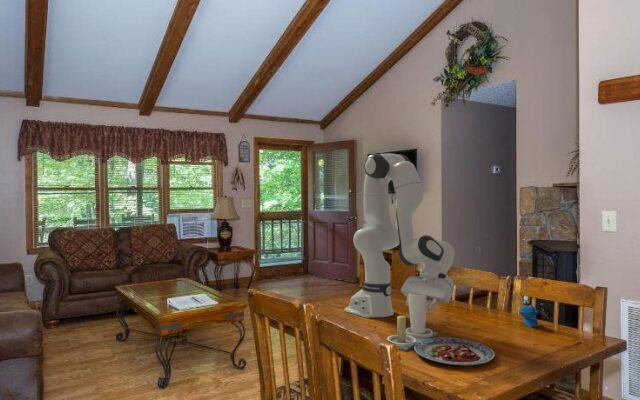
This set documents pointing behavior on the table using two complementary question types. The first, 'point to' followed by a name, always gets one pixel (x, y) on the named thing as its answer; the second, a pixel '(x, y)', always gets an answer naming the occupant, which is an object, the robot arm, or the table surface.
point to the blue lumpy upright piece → (529, 315)
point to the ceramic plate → (454, 351)
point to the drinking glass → (417, 312)
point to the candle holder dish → (408, 335)
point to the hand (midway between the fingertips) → (418, 307)
